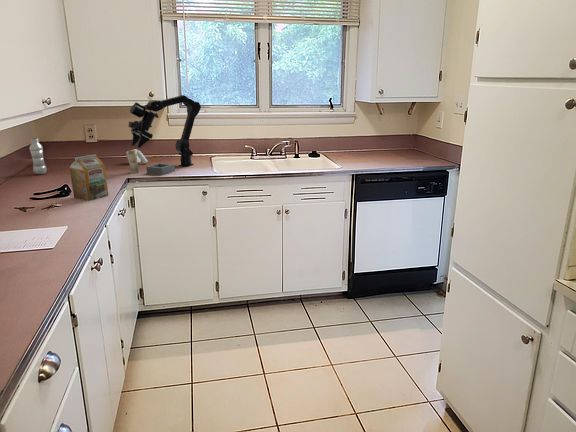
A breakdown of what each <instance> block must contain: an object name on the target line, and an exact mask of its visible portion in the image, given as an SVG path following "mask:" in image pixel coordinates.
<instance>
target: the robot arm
mask: <svg viewBox="0 0 576 432" xmlns="http://www.w3.org/2000/svg"><path fill="white" fill-rule="evenodd" d="M181 103H182V104H183V105H184V106H186V112H187V113H186V115H187V116H186V119H185V123H184V127H183V129H182V134H181V137H180V139H176V143H175V145H174V146H175V151H176V152H177V153H178V154H179V155H180V164H178V165H179V166H182V167H191V166H194V163H192V157H193V154H194V151H192V150H191V149H190V137H191V134H192V129H193V127H194V122H195V119H196V117H197V116H198V114H199V113H200V110H201V109H202V105H201V103H200V102H199V101H194V100H193V99H192V98H190V97H188V96H186V94H185V95H184V94H181V95H180V94H179V95H178V96H174V97H170V98H166V99H161V100H156V99H155V100H149V101H147V103H146V104H144V105H141V104H140V103H138V102H134V104H132V106H131V107H130V109H129V113H130V114H131V115H133V116H135V117H138V118H139V119H140V118H141V120H139V121H138V120H134V121H128V128H130V133H131V135H132V140H131V146H133V147H134V146H135V145H136V144H137V148H138V149H140V148H142V146H143V145H145V144H146V143H147V142H148V141H151V140H152V139H153V133H152V132H150V129H151V128H152V127H153V125H152V123H153V122H154V119H159V117H160V116H159V114H158V113H157V112H160V111H161V110H163V109H165V108H166V107H171V106H174V105H178V104H181Z"/></svg>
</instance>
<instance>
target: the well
mask: <svg viewBox="0 0 576 432" xmlns="http://www.w3.org/2000/svg"><path fill="white" fill-rule="evenodd" d="M175 167H176V166H175V164H172V163H164V162H163V163H162V162H161V163H160V162H157V163H154V164H150V165H147V166H146V174H147V173H148V175H157V176H158V175H159V176H164V175H165V176H166V175H169V174H170V173H175V172H176V169H175Z"/></svg>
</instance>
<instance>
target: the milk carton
mask: <svg viewBox="0 0 576 432" xmlns="http://www.w3.org/2000/svg"><path fill="white" fill-rule="evenodd" d="M74 159H75V161H73V162H72V163H71V165H70V166H69V172H70V174H69V175H70V179H71V187H72V192H73V193H72V194H73V198H74V199H78V200H82V201H87V202H90V201H94V200H97V199H101V198H106V197H109V190H108V189H109V188H108V181H107V172H106V166H105V164H104V163H103V162H102V160H101V159H99V158H98V157H97V154H96V153H95V154H88V155H83V156H78V157H75V158H74Z"/></svg>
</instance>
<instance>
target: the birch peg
mask: <svg viewBox="0 0 576 432" xmlns="http://www.w3.org/2000/svg"><path fill="white" fill-rule="evenodd" d="M128 154H129V161H128V164H129V171H130V172H131V173H130V174H138V173H139V164H138V163H139V162H137V152H136V150H135V149H129V150H128ZM137 172H138V173H137Z"/></svg>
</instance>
